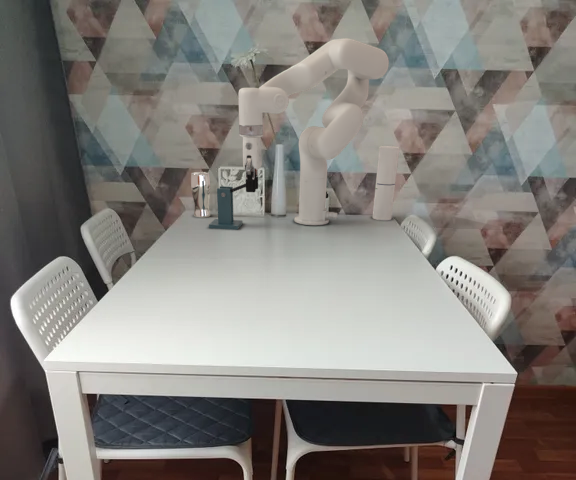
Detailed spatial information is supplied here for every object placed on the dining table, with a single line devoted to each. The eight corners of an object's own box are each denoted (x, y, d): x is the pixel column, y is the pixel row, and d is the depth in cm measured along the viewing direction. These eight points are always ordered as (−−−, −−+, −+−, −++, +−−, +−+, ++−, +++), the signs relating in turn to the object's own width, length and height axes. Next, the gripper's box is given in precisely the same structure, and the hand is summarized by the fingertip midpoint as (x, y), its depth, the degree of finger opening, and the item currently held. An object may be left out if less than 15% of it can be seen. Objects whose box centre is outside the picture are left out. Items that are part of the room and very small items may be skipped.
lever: (256, 184, 186) (253, 177, 185) (253, 186, 182) (251, 179, 181) (224, 196, 189) (221, 189, 188) (221, 199, 185) (218, 192, 184)
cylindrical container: (382, 221, 204) (389, 148, 192) (368, 217, 209) (375, 146, 197) (395, 218, 208) (403, 147, 196) (381, 215, 213) (389, 145, 201)
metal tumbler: (210, 218, 202) (208, 175, 194) (191, 217, 202) (188, 174, 194) (212, 214, 208) (211, 172, 201) (194, 213, 208) (192, 171, 201)
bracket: (242, 223, 195) (241, 186, 189) (237, 229, 187) (236, 190, 181) (214, 222, 196) (213, 184, 190) (209, 228, 188) (207, 189, 182)
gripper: (258, 134, 168) (259, 195, 177) (266, 129, 183) (266, 186, 192) (234, 133, 169) (236, 194, 178) (244, 128, 184) (245, 185, 193)
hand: (252, 189), depth 185 cm, fingers closed on lever, 5 cm apart
